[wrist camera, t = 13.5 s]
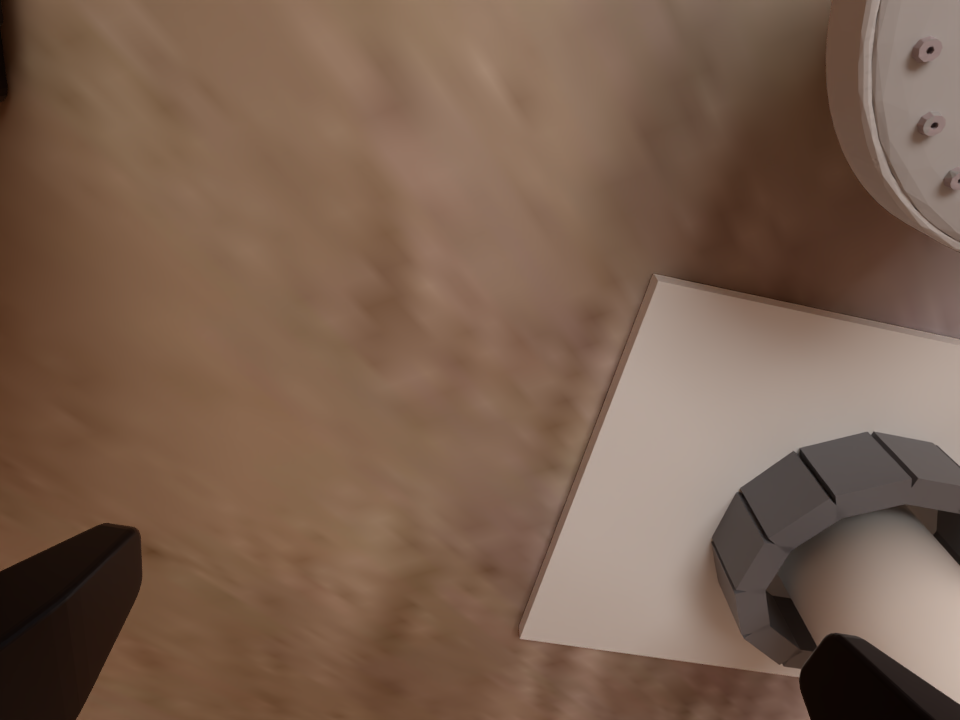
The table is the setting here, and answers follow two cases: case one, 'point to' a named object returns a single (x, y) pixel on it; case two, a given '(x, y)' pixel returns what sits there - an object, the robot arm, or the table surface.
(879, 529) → the canister
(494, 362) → the table surface
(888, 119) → the showerhead
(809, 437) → the socket
